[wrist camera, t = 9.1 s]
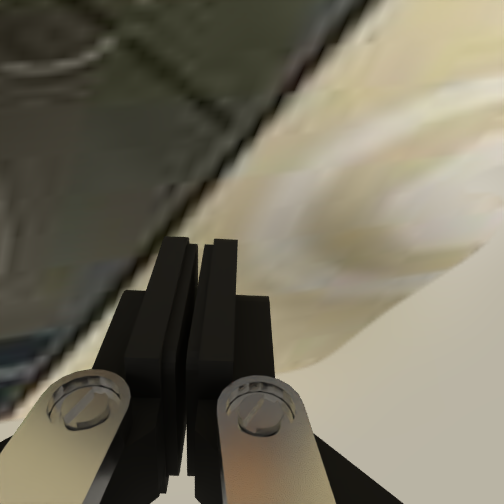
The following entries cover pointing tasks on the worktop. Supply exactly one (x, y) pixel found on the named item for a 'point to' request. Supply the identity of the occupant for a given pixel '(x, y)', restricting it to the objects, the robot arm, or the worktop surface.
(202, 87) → the worktop surface
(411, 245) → the worktop surface
